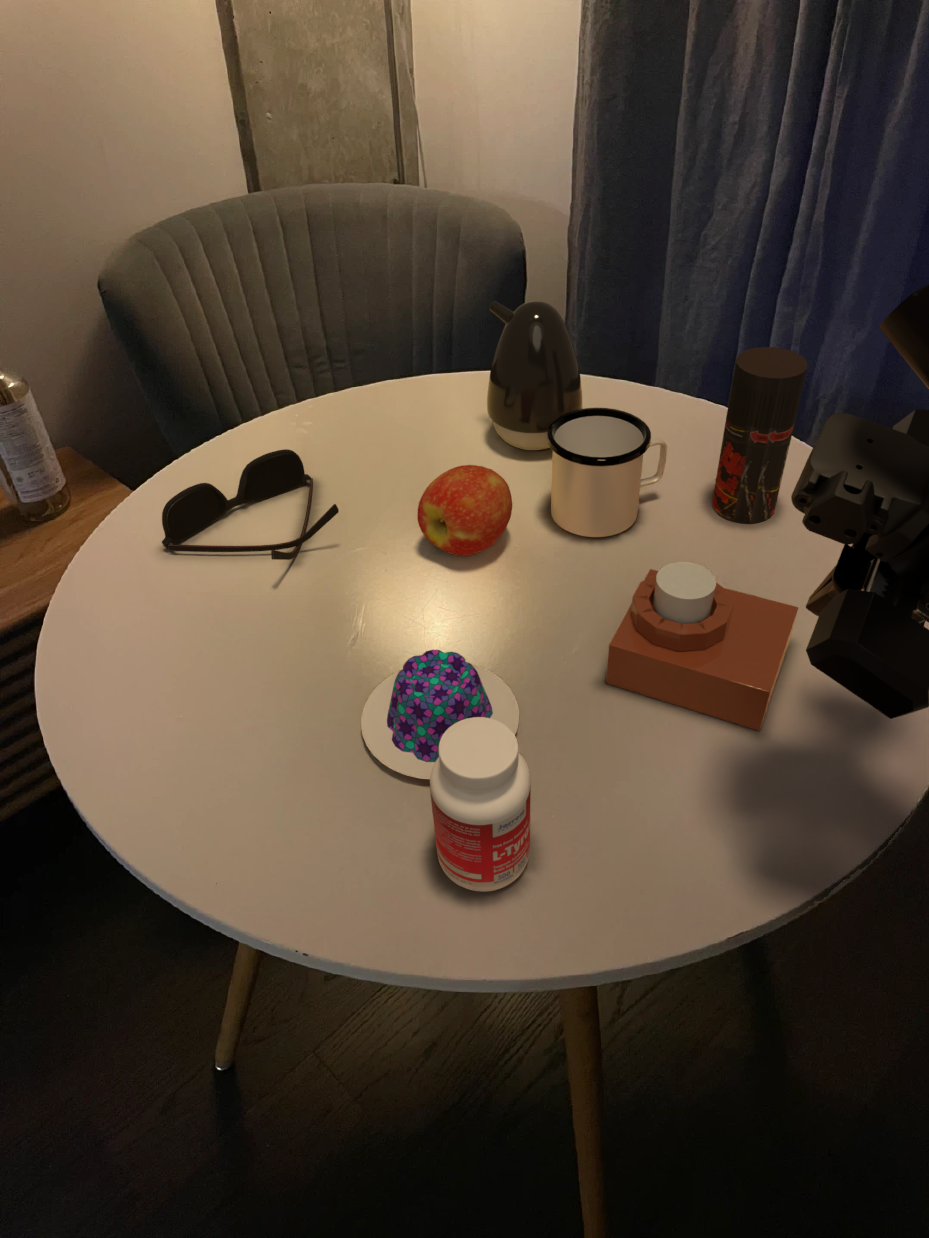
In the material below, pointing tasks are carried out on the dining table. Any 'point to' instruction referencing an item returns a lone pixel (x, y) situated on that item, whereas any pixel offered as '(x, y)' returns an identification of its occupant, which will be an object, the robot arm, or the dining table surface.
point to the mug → (599, 469)
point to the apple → (465, 509)
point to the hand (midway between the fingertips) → (812, 607)
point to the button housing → (704, 654)
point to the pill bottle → (481, 805)
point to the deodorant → (757, 433)
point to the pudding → (430, 709)
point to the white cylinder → (684, 592)
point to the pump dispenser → (532, 374)
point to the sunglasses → (255, 484)
